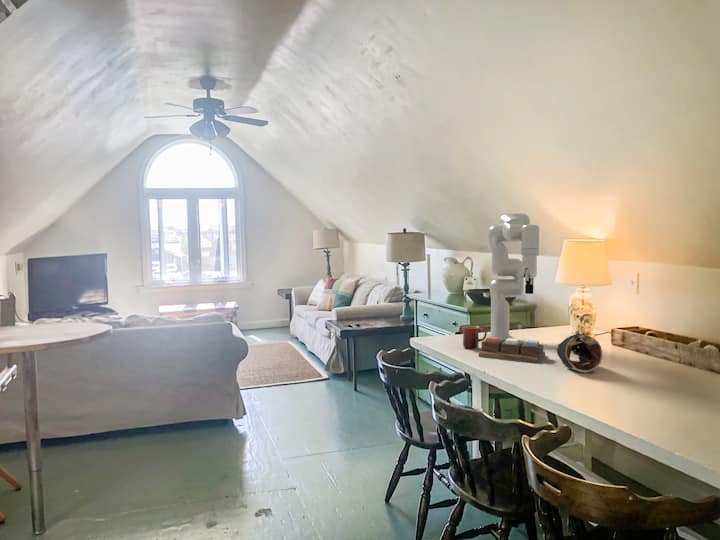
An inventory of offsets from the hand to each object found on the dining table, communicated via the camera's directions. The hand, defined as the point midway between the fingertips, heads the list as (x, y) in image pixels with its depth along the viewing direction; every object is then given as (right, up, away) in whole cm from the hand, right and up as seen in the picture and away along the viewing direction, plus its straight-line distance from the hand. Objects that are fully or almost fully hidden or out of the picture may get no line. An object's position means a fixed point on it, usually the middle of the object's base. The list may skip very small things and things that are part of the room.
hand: (529, 293), depth 246 cm
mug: (-20, -28, +23) cm, 41 cm away
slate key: (+1, -26, 0) cm, 25 cm away
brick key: (-14, -25, +9) cm, 30 cm away
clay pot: (+15, -30, -14) cm, 37 cm away
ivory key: (-6, -25, +4) cm, 26 cm away
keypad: (-6, -29, +5) cm, 30 cm away
